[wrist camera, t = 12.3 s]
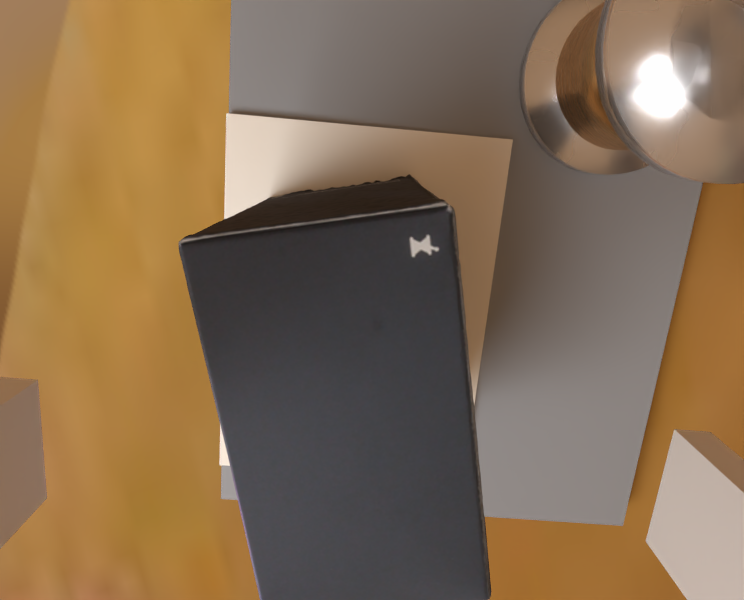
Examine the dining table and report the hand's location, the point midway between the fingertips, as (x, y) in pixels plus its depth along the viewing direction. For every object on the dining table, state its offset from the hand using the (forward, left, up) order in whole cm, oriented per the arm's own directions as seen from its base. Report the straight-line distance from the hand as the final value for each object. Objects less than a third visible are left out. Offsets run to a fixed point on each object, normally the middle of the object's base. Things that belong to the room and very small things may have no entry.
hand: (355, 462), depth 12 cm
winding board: (-4, -2, -14) cm, 14 cm away
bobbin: (-9, -10, -12) cm, 18 cm away
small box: (0, 0, -12) cm, 12 cm away
